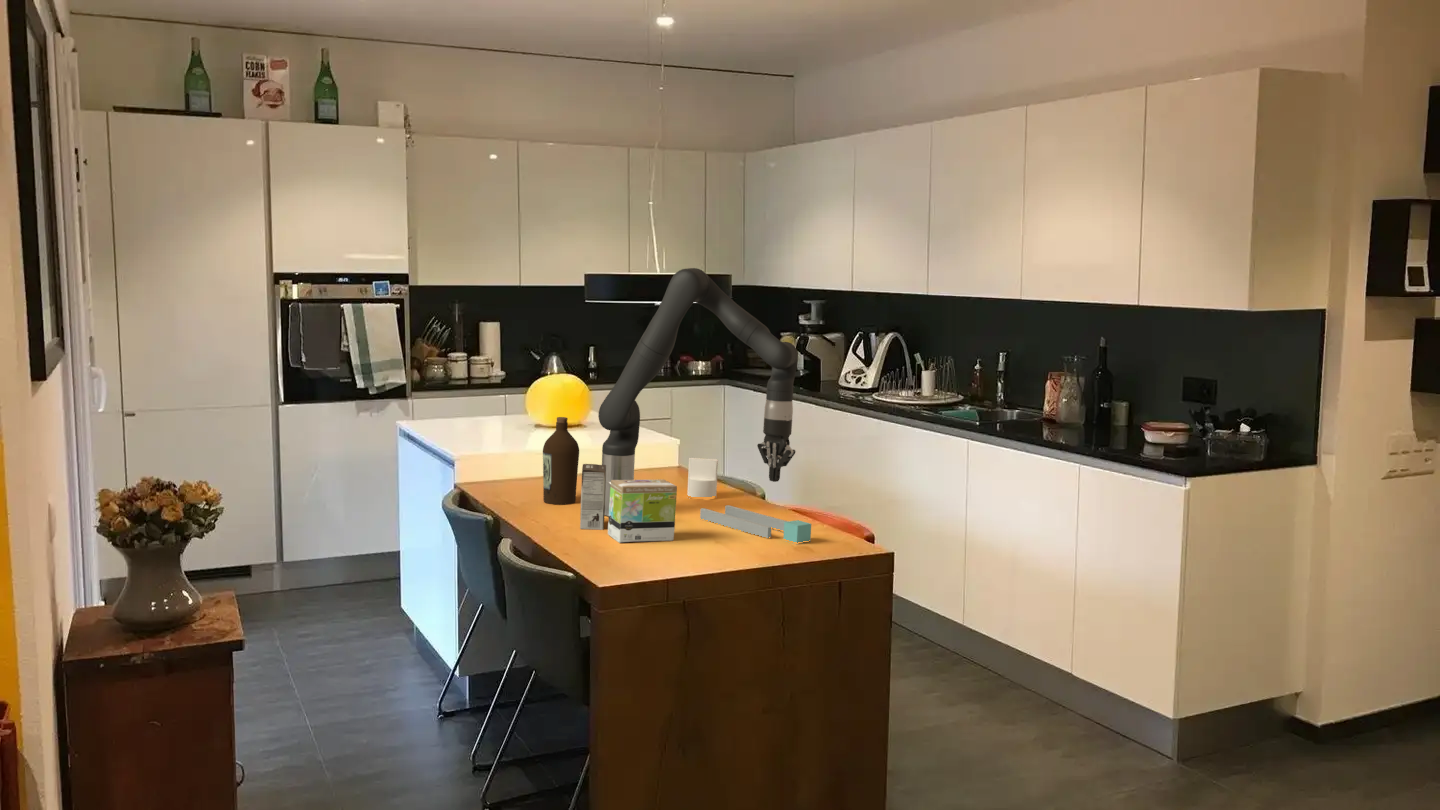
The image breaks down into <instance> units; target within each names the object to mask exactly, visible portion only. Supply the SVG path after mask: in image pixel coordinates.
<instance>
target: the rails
mask: <svg viewBox="0 0 1440 810" xmlns="http://www.w3.org/2000/svg"><path fill="white" fill-rule="evenodd" d="M724 507H725V508H724V512H723V513H722V512H719V511H714V510H712V509H708V508H705V507H704V508H700V510H699V511H700V513H699V514H700V515H699V519H700V518H701V519H700V520H702V519H704V520H703V521H705V520H708V521H707V522H709V521H711V522H710V523H712V522H714V523H713V524H715V523H718V524H717V525H719V524H721V525H720V526H722V525H724V526H723V527H726V526H728V527H727V528H729V527H731V528H730V529H732V528H734V529H733V530H736V529H738V530H737V531H739V530H741V531H740V532H743V531H744V532H743V533H746V532H748V533H747V534H749V533H751V534H750V535H753V534H755V535H754V536H756V535H759V536H758V537H760V536H762V537H761V538H763V537H766V538H769V537H771V538H772V529H771V527H772V528H776V529H780V530H783V531H784V522H789V520H785V519H780V518H777V517H774V516H770V515H766V514H762V513H759V512H755V511H752V510H748V509H745V508H741V507H736V506H733V505H729V504H728V505H725V506H724ZM766 538H765V539H766Z"/></svg>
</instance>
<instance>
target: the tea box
mask: <svg viewBox="0 0 1440 810" xmlns="http://www.w3.org/2000/svg"><path fill="white" fill-rule="evenodd" d="M677 492H678V487H677V485H675V484H673V483H671V482H670V481H667V480H666V479H664V478H663V479H661V478H660V479H659V478H658V479H634V480H611V486H610V502H609V516H608V521H607V522H608V523H607V535H608V536H609V537H610V538H612V539H614V541H616V542H617V543H619V544H620V543H629V542H631V543H632V542H634V543H635V542H672V541H674V539H675V529H676V527H675V526H676V508H677Z"/></svg>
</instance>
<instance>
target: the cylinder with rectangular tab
mask: <svg viewBox="0 0 1440 810" xmlns="http://www.w3.org/2000/svg"><path fill="white" fill-rule="evenodd" d="M718 463H719V460H718V459H717V458H702V457H689V458H688V469H687V471H688V472H687V473H688V475H687V476H688V477H687V492H686V493H687V495H688V496H691V497H712V496H716V497H717V488H718V487H717V485H718V469H719V468H718V467H719V466H718V465H719V464H718ZM687 495H686V496H687Z"/></svg>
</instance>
